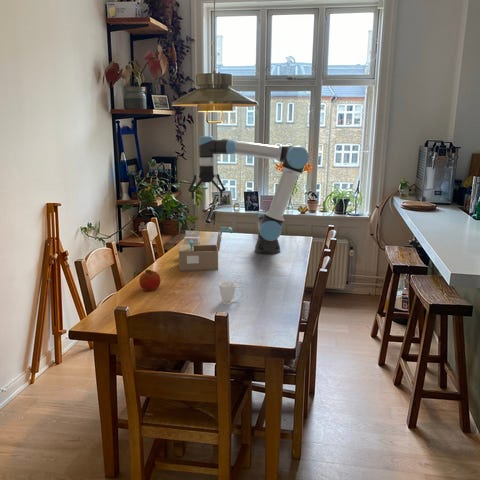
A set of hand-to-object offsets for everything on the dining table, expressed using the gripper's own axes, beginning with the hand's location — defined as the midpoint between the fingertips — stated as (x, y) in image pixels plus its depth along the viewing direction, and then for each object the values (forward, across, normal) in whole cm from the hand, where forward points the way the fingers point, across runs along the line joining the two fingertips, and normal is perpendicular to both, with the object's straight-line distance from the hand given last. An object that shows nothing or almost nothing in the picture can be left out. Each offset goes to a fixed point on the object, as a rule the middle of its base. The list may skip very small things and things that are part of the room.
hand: (207, 204), depth 257 cm
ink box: (+31, +9, -3) cm, 32 cm away
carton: (+31, +6, +17) cm, 36 cm away
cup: (+31, -6, +70) cm, 77 cm away
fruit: (+31, +29, +50) cm, 66 cm away
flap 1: (+21, +12, +17) cm, 30 cm away
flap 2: (+15, -5, +17) cm, 23 cm away
